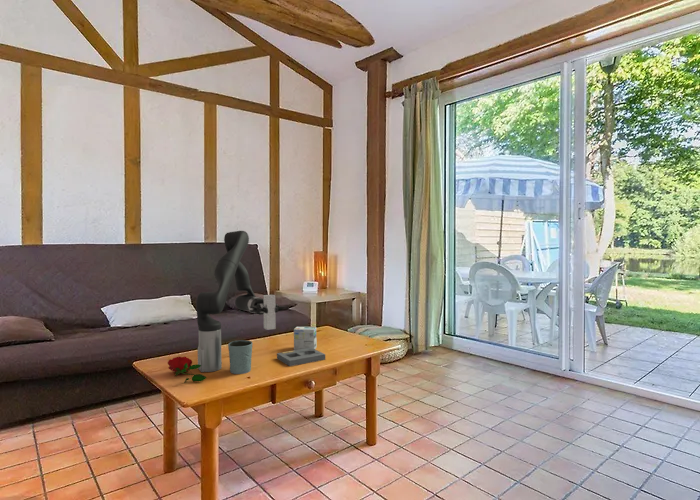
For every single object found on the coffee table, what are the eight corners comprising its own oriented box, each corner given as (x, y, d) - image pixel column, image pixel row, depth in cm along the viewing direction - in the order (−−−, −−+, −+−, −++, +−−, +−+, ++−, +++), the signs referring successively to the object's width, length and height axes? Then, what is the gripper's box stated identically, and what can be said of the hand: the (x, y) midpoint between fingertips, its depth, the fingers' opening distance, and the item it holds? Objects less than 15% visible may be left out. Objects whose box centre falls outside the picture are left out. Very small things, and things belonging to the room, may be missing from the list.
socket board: (289, 366, 187) (289, 360, 187) (276, 358, 199) (276, 352, 199) (325, 359, 197) (325, 353, 197) (311, 352, 209) (311, 347, 209)
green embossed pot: (243, 365, 188) (243, 338, 188) (257, 370, 182) (257, 342, 182) (223, 371, 181) (223, 343, 180) (238, 376, 174) (237, 347, 174)
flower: (211, 357, 163) (174, 349, 183) (191, 374, 156) (155, 364, 176) (222, 375, 166) (185, 366, 186) (203, 393, 159) (166, 381, 179)
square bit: (267, 329, 189) (267, 296, 189) (263, 328, 193) (263, 295, 192) (275, 328, 192) (275, 295, 191) (272, 327, 195) (271, 294, 195)
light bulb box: (316, 347, 219) (316, 326, 219) (314, 350, 212) (314, 329, 212) (296, 346, 220) (296, 326, 220) (293, 350, 213) (293, 329, 213)
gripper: (243, 298, 200) (256, 303, 186) (271, 296, 208) (286, 300, 193) (243, 314, 200) (256, 320, 186) (271, 311, 208) (286, 317, 194)
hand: (272, 310), depth 190 cm, fingers closed on square bit, 4 cm apart
